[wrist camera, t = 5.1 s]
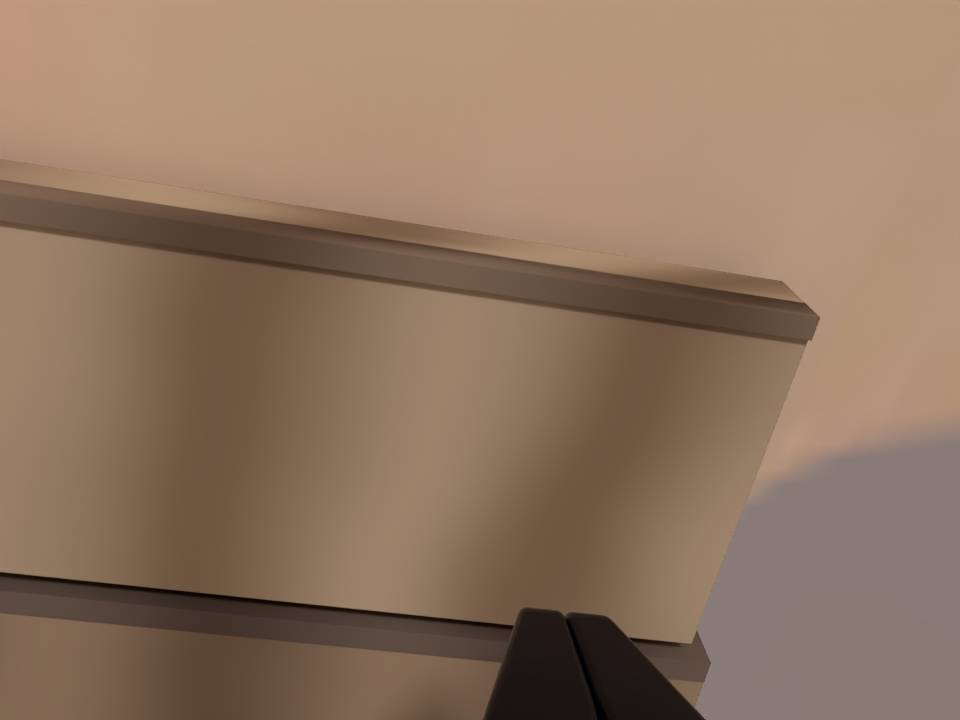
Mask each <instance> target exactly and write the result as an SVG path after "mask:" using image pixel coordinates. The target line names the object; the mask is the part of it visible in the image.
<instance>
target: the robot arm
mask: <svg viewBox="0 0 960 720" xmlns="http://www.w3.org/2000/svg"><path fill="white" fill-rule="evenodd" d="M483 720H705V719H704V718H703V717H702V715H701V714H700V713H699V712H698V711H697V710H696V709H695V708H694V707H693V706H692V705H691V704H690V703H689V702H688V700H687V699H686V698H685V697H684V696H683V695H682V694H681V693H680V692H679V691H678V690H677V689H676V688H675V687H674V686H673V684H672V683H671V682H670V681H669V680H668V679H667V678H666V677H665V676H664V675H663V674H662V673H661V672H660V671H659V669H658V668H657V667H656V666H655V665H654V664H653V663H652V662H651V661H650V660H649V659H648V658H647V657H646V656H645V655H644V653H643V652H642V651H641V650H640V649H639V648H638V647H637V646H636V645H635V644H634V643H633V642H632V641H631V640H630V638H629V637H628V636H627V635H626V634H625V633H624V632H623V631H622V630H621V629H620V628H619V627H618V626H617V625H616V623H615V622H614V621H612V620H611V619H610V618H609V617H607V616H604V615H597V614H587V613H578V612H569V613H567V614H566V615H565V616H564V615H563V614H562V613H561V612H559V611H557V610H549V609H540V608H530V607H524V608H522V609H521V610H520V611H519V613H518V615H517V618H516V621H515V624H514V627H513V630H512V633H511V636H510V639H509V642H508V645H507V648H506V651H505V654H504V657H503V660H502V663H501V666H500V669H499V672H498V675H497V678H496V681H495V684H494V687H493V690H492V693H491V696H490V699H489V702H488V705H487V708H486V711H485V714H484V717H483Z"/></svg>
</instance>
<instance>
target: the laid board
mask: <svg viewBox="0 0 960 720" xmlns="http://www.w3.org/2000/svg"><path fill="white" fill-rule="evenodd" d="M513 627H514V625H505V624H496V623H486V622H477V621H467V620H457V619H448V618H438V617H429V616H419V615H409V614H400V613H390V612H380V611H371V610H361V609H352V608H342V607H332V606H323V605H313V604H304V603H294V602H284V601H275V600H265V599H255V598H246V597H236V596H227V595H217V594H207V593H198V592H188V591H179V590H169V589H159V588H150V587H140V586H131V585H121V584H111V583H102V582H92V581H82V580H73V579H63V578H54V577H44V576H34V575H25V574H15V573H6V572H0V720H483V717H484V714H485V711H486V708H487V705H488V702H489V699H490V696H491V693H492V690H493V687H494V684H495V681H496V678H497V675H498V672H499V669H500V666H501V663H502V660H503V657H504V654H505V651H506V648H507V645H508V642H509V639H510V636H511V633H512V630H513ZM629 638H630V637H629ZM630 640H631V641H632V642H633V643H634V644H635V645H636V646H637V647H638V648H639V649H640V650H641V651H642V652H643V653H644V655H645V656H646V657H647V658H648V659H649V660H650V661H651V662H652V663H653V664H654V665H655V666H656V667H657V668H658V669H659V671H660V672H661V673H662V674H663V675H664V676H665V677H666V678H667V679H668V680H669V681H670V682H671V683H672V684H673V686H674V687H675V688H676V689H677V690H678V691H679V692H680V693H681V694H682V695H683V696H684V697H685V698H686V699H687V700H688V702H689V703H690V704H691V705H692V706H693V707H695V705H696V702H697V699H698V696H699V693H700V690H701V688H702V684H703V683H704V681H705V678H706V675H707V672H708V669H709V667H710V664H711V663H710V660H709V658H708V656H707V653H706V651H705V648H704V646H703V644H702V641H701V639H700V637H699V634H698V632H697V631H696V633H695V636H694V638H693V641H692V644H688V643H678V642H669V641H659V640H650V639H640V638H630Z"/></svg>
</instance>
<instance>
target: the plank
mask: <svg viewBox="0 0 960 720" xmlns="http://www.w3.org/2000/svg"><path fill="white" fill-rule="evenodd" d="M819 320H820V317H819V316H818V315H817V314H816V313H815V312H814V311H813V310H812V309H811V308H810V307H809V306H808V305H807V304H805V303H804V302H803V301H802V300H801V299H800V298H799V297H798V296H797V295H796V294H795V293H794V292H793V291H792V290H791V289H790V288H789V287H788V286H787V285H785V284H784V283H783V282H782V281H777V280H771V279H764V278H758V277H752V276H745V275H739V274H732V273H726V272H720V271H713V270H707V269H700V268H694V267H687V266H681V265H675V264H668V263H662V262H655V261H649V260H643V259H636V258H630V257H623V256H617V255H611V254H604V253H598V252H591V251H585V250H578V249H572V248H566V247H559V246H553V245H546V244H540V243H534V242H527V241H521V240H514V239H508V238H501V237H495V236H489V235H482V234H476V233H469V232H463V231H457V230H450V229H444V228H437V227H431V226H424V225H418V224H412V223H405V222H399V221H392V220H386V219H380V218H373V217H367V216H360V215H354V214H348V213H341V212H335V211H328V210H322V209H315V208H309V207H303V206H296V205H290V204H283V203H277V202H271V201H264V200H258V199H251V198H245V197H238V196H232V195H226V194H219V193H213V192H206V191H200V190H194V189H187V188H181V187H174V186H168V185H162V184H155V183H149V182H142V181H136V180H129V179H123V178H117V177H110V176H104V175H97V174H91V173H85V172H78V171H72V170H65V169H59V168H52V167H46V166H40V165H33V164H27V163H20V162H14V161H8V160H1V159H0V572H6V573H15V574H25V575H34V576H44V577H54V578H63V579H73V580H82V581H92V582H102V583H111V584H121V585H131V586H140V587H150V588H159V589H169V590H179V591H188V592H198V593H207V594H217V595H227V596H236V597H246V598H255V599H265V600H275V601H284V602H294V603H304V604H313V605H323V606H332V607H342V608H352V609H361V610H371V611H380V612H390V613H400V614H409V615H419V616H429V617H438V618H448V619H457V620H467V621H477V622H486V623H496V624H505V625H514V624H515V621H516V618H517V615H518V613H519V611H520V610H521V609H522V608H524V607H530V608H540V609H549V610H557V611H559V612H561V613H562V614H563V615H564V616H565V615H566V614H567V613H569V612H578V613H587V614H597V615H604V616H607V617H609V618H610V619H611V620H612V621H614V622H615V623H616V625H617V626H618V627H619V628H620V629H621V630H622V631H623V632H624V633H625V634H626V635H627V636H628V637H630V638H640V639H650V640H659V641H669V642H678V643H688V644H692V641H693V638H694V636H695V633H696V631H697V628H698V625H699V622H700V620H701V617H702V615H703V612H704V610H705V607H706V605H707V602H708V599H709V597H710V594H711V592H712V589H713V586H714V584H715V581H716V579H717V576H718V573H719V570H720V568H721V566H722V563H723V560H724V558H725V555H726V552H727V550H728V547H729V545H730V542H731V539H732V537H733V534H734V532H735V529H736V526H737V524H738V521H739V519H740V516H741V513H742V511H743V508H744V506H745V503H746V500H747V498H748V495H749V493H750V490H751V487H752V485H753V482H754V480H755V477H756V474H757V472H758V469H759V467H760V464H761V461H762V459H763V456H764V454H765V451H766V448H767V446H768V443H769V440H770V438H771V435H772V433H773V430H774V427H775V425H776V422H777V420H778V417H779V414H780V412H781V409H782V407H783V404H784V401H785V399H786V396H787V394H788V391H789V388H790V386H791V383H792V381H793V378H794V375H795V373H796V370H797V368H798V365H799V362H800V360H801V357H802V354H803V352H804V349H805V347H806V344H807V341H808V340H810V341H811V340H812V338H813V335H814V333H815V330H816V327H817V325H818V322H819Z"/></svg>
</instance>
